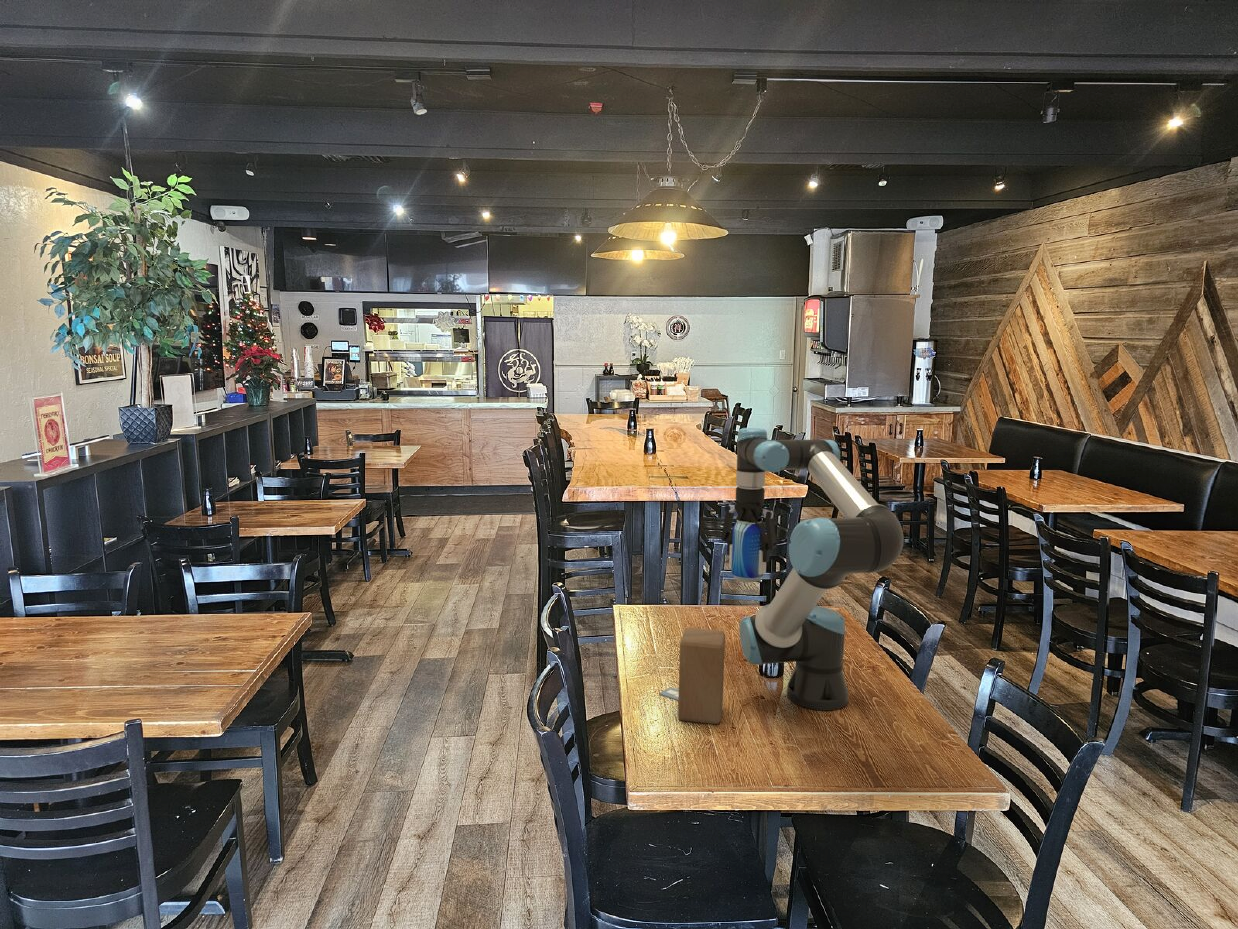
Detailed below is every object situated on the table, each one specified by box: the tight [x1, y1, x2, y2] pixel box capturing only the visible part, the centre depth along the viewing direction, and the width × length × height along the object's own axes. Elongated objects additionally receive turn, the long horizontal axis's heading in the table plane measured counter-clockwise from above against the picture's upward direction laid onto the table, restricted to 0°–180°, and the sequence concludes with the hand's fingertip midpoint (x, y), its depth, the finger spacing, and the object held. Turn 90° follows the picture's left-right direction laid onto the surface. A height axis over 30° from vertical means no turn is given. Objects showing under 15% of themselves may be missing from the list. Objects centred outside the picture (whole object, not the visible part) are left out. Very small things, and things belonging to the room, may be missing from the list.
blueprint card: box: [658, 686, 679, 702], centre depth 197 cm, size 8×5×1 cm, turn 52°
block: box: [677, 627, 726, 725], centre depth 186 cm, size 10×10×20 cm
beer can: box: [730, 520, 766, 583], centre depth 206 cm, size 8×8×16 cm
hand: (747, 570), depth 207 cm, fingers closed on beer can, 8 cm apart
